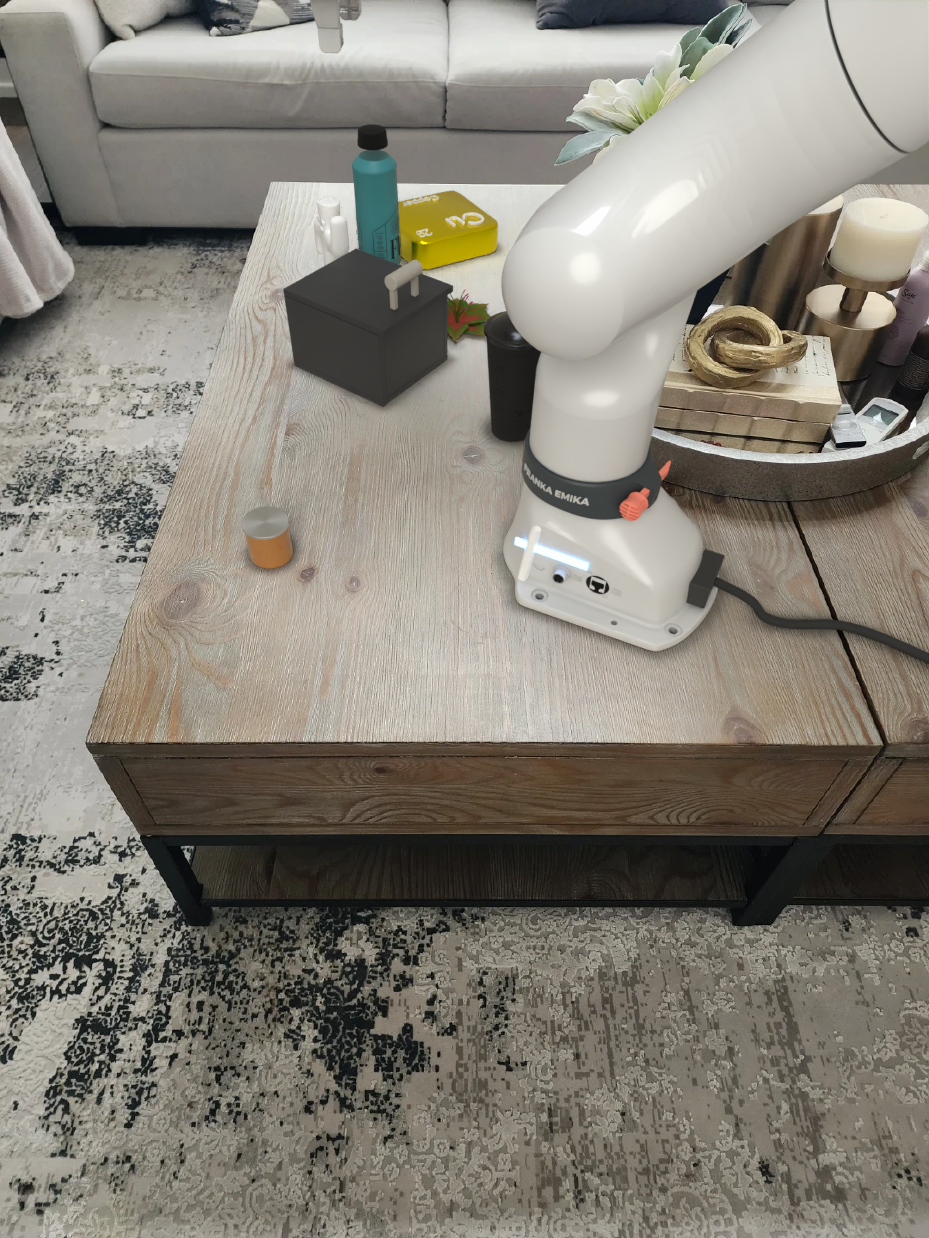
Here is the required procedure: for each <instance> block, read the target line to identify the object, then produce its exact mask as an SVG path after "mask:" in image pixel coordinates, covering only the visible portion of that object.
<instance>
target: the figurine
mask: <svg viewBox="0 0 929 1238" xmlns="http://www.w3.org/2000/svg"><path fill="white" fill-rule="evenodd" d="M316 207H317V211H316V217H315V218H314V222H313V231H314V241H315V250H316V252H317V253H318V254H319V255H322V257H323V267H324V266H325V265H327V264H329V263H331V262H333V261H334V260H336V259H338V258H340V257H341V256H343V255H345V254H347V253H349V252H350V240H349V227H348V226H349V225H348V220H347V218H346V217H345V216H344V215H341V201H340V200H339V199H338V198H336V197H332V196H324V197H322V198H317V200H316ZM307 275H308V274H306V275H302V278H304V277H306V276H307Z"/></svg>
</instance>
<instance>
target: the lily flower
mask: <svg viewBox="0 0 929 1238" xmlns="http://www.w3.org/2000/svg"><path fill="white" fill-rule="evenodd" d="M457 289H458V286H457ZM465 292H466V289H464V290H463V291H462V294H461V296H460V298H458V297H457V298H454V297H453V295H452V293H450V294H449V295H450V297H451V298H450V297H448V335H449V336H450V337H451V338H452V339H453V342H454V343H456V342H457V341H458V339H459V338H460V336H461V335H463V334H464V333H466V334H471V335H472V334H473V335H477V336H483V337H486V336H485V334H484V325H485V324H483V322H486V321H487V320H488V319H489V318H490V317H491V316H492V315H490V314H489V313H488V312H486V310H487V308H488V305H489V303H479V302H478V303H477V302H474V301H470V302H468V301H467V300H468V299H469V297H470V296H469V293H466V294H465V295H464V293H465ZM463 295H464V296H463Z"/></svg>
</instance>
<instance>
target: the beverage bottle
mask: <svg viewBox="0 0 929 1238" xmlns="http://www.w3.org/2000/svg"><path fill="white" fill-rule="evenodd" d="M387 133H388V132H387V129H386V128H385V126H383V125H380V124H373V123H371V124H365V125H362V126H360V127H359V128H358V129H357V140H356V141H357V147H358V148H360V149H361V150H362V151H361V152H359V153H358V155H356V156H355V157H354V159H353V160H352V162H351V169H352V179H353V181H352V182H353V191H354V207H355V221H354V222H355V225H356V230H355V231H356V236H357V237H356V238H357V239H356V241H357V249H358V250H361V251H364V252H366V253H369V254H372V255H374V256H377V257H379V258H382V259H385V260H387V261H390V262H392V263H395V264H398V265H401V261H402V259H403V257H402V256H401V252H402V250H401V251H400V248H401V230H400V229H399V220H400V219H399V217H400V216H399V207H398V202H399V190H398V189H399V188H398V176H397V175H398V174H397V168H398V167H397V166H398V163H397V161H396V160H395V158H394V157H393V156H392V155H391V154H389V153H388V152H387V151H386V150H384V149H386V148H387V147H388V145H389V140H388V134H387Z"/></svg>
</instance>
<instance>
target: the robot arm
mask: <svg viewBox="0 0 929 1238" xmlns="http://www.w3.org/2000/svg"><path fill="white" fill-rule="evenodd" d="M309 1H310V8H311V12H312V15H313V18H314V21H315V25H316V28H317V37H318V47H319V49H320V51H321V52H322V53H324V54H339V53H340V52H341V50H342V48H343V46H344V42H345V41H344V29H343V23H341V20H344V21H353V22H355V21H357V20H358V19H360V17H361V15H362V11H363V9H362V0H309ZM928 143H929V0H794V1H792V2H791V3H789V4H788V5H787V6H786V7H785V8H784V9H782V10H781V11H780V12H778V13H777V14H776V15H775V16H774V17H772V18H771V19H770V20H769V21H768V22H766V23H765V24H764V25H762V27H760V28H759V29H758V30H756V31H755V32H754V33H753V34H752V35H750V36H749V37H748V38H746V39H745V40H744V41H743V42H741V43H739V45H738V46H737V47H735V48H734V49H732V51H730V52H729V53H728V54H726V56H724V57H723V58H722V59H720V60H719V61H718V62H716V63H715V64H714V65H713V66H712V67H711V68H709V69H708V70H707V71H705V72H704V73H703V74H702V75H701V76H699V77H698V78H697V79H696V80H694V81H693V82H692V83H690V84H689V85H688V86H686V88H685V89H683V90H682V91H681V92H680V93H678V94H677V95H676V96H674V97H673V98H672V99H671V100H670V101H668V102H667V103H665V105H663V106H662V107H661V108H660V109H658V110H657V111H656V112H655V113H653V114H652V115H651V116H650V117H648V118H647V119H646V120H645V121H643V122H642V123H641V124H640V125H639V126H637V127H636V128H635V129H634V130H632V131H631V132H629V134H627V135H626V136H625V137H624V138H622V139H621V140H620V141H619V142H617V143H616V144H615V145H614V146H613V147H611V148H610V149H609V150H607V151H606V152H605V153H604V154H603V155H601V156H600V157H599V158H598V159H596V160H595V161H594V162H593V163H591V164H590V165H588V166H587V167H586V168H585V169H584V170H583V171H582V172H580V173H579V174H577V175H576V176H575V177H574V178H572V179H571V180H570V181H569V182H568V183H566V184H565V185H564V186H563V187H561V188H560V189H559V190H558V191H556V192H554V194H553V195H551V196H550V197H549V198H548V199H546V200H545V201H544V202H543V203H542V204H541V205H540V206H539V207H538V208H537V209H536V210H535V212H534V213H533V214H532V215H531V217H530V218H529V219H528V221H527V222H526V224H525V225H524V227H523V228H522V229H521V231H520V233H519V234H518V236H517V237H516V239H515V242H514V243H513V244H512V246H511V248H510V250H509V251H508V253H507V255H506V258H505V260H504V264H503V267H502V271H501V279H500V281H501V282H500V283H501V284H500V286H501V294H502V296H501V297H502V300H503V305H504V307H505V311H507V313H508V315H509V318H510V320H511V321H512V323H513V325H514V326H515V328H516V329H517V331H518V332H519V333H520V334H521V336H522V337H523V338H524V339H525V340H526V341H527V342H528V343H529V344H531V345H532V346H533V347H535V348H536V349H537V350H539V351H541V354H540V357H539V360H538V364H537V368H536V378H535V388H534V398H533V408H532V418H531V428H530V429H529V431H528V432H527V435H526V438H525V439H524V445H523V453H522V462H521V475H522V479H523V483H522V488H521V493H520V497H519V501H518V505H517V509H516V512H515V514H514V518H513V520H512V522H511V525H510V527H509V529H508V531H507V532H506V535H505V537H504V540H503V547H502V553H503V559H504V561H505V564H506V566H507V568H508V570H509V572H510V574H511V575H512V577H513V580H514V597H515V600H516V602H517V603H518V605H520V606H522V607H525V608H527V609H530V610H533V611H536V612H539V613H542V614H545V615H548V616H550V617H552V618H556V619H558V620H562V621H564V622H568V623H570V624H573V625H576V626H578V627H582V628H584V629H587V630H590V631H593V632H595V633H599V634H601V635H604V636H607V637H610V638H613V639H616V640H619V641H621V642H623V643H627V644H630V645H633V646H635V647H637V648H642V649H643V650H647V651H651V652H660V651H664V650H668V649H670V648H671V647H674V646H676V645H678V644H680V643H681V642H682V641H684V640H685V639H687V638H688V637H689V636H690V635H691V634H692V633H694V631H695V630H696V629H697V628H698V627H699V626H700V625H701V623H703V621H704V620H705V618H706V617H707V616H708V614H709V612H710V611H711V609H712V606H713V605H714V603H715V601H716V597H717V595H718V590H721V591H723V592H725V593H727V594H729V595H731V596H733V597H735V598H737V599H739V600H740V601H742V602H744V603H745V604H746V605H748V606H749V607H750V608H751V609H752V611H753V613H754V614H755V615H756V617H757V618H758V619H759V620H760V621H761V622H763V623H766V624H768V625H770V626H773V627H777V628H782V629H787V630H789V629H790V630H834V631H836V630H837V631H842V632H845V633H846V632H847V633H850V634H855V635H858V636H860V637H863V638H867V639H870V640H872V641H876V642H878V643H880V644H883V645H885V646H888V647H890V648H892V649H894V650H897V651H899V652H901V653H903V654H906V655H908V656H909V657H912V658H914V659H915V660H918V661H921V662H923V663H924V664H925V663H926V664H927V665H929V652H927V651H925V650H923V649H921V648H918V647H916V646H913V645H912V644H910V643H908V642H905V641H903V640H901V639H899V638H896V637H894V636H891V635H889V634H887V633H884V632H881V631H880V630H877V629H875V628H874V629H873V628H870V627H867V626H865V625H861V624H857V623H855V622H854V623H853V622H849V621H845V620H839V619H826V618H824V619H823V618H816V619H815V618H814V619H811V618H810V619H809V618H808V619H792V618H791V619H790V618H784V617H780V616H776V615H773V614H771V613H769V612H768V611H766V610H765V608H764V607H763V605H762V603H760V601H759V600H758V599H757V598H756V597H754V596H753V595H752V594H751V593H749V592H747V591H746V590H745V589H743V588H741V587H739V586H736V585H735V584H732V583H730V582H728V581H726V580H724V579H722V578H720V571H721V568H722V565H723V563H724V560H725V557H726V555H725V554H722V553H720V552H716V551H714V550H710V549H707V548H705V549H704V541H703V536H702V533H701V530H700V529H699V527H698V526H697V524H695V523H694V521H693V520H692V519H691V518H690V517H689V516H688V515H687V514H686V513H685V512H684V511H683V510H682V508H681V507H680V506H679V505H678V502H677V501H676V499H675V498H673V497H672V496H671V495H669V493H668V492H667V491H666V490H665V489H664V487H663V486H662V481H664V479H665V478H666V477H667V476H668V474H669V472H670V467H671V463H672V461H671V460H668V461H667V462H666V463H665V464H664V465H663V466H662V467H661V469H658V468H657V465H656V462H655V458H654V453H653V449H652V446H651V441H652V438H653V437H652V436H653V432H654V428H655V423H656V420H657V415H658V410H659V408H660V402H661V398H662V394H663V390H664V387H665V383H666V379H667V376H668V373H669V371H670V367H671V364H672V361H673V359H674V357H675V354H676V351H677V349H678V346H679V343H680V340H681V338H682V335H683V332H684V329H685V327H686V325H687V321H688V319H689V316H690V312H691V310H692V308H693V304H694V301H695V298H696V295H697V292H698V291H699V290H700V289H701V288H703V287H704V286H706V285H707V284H709V283H710V282H712V281H713V280H714V279H716V278H717V277H719V276H720V275H722V274H723V273H724V272H726V271H727V270H729V269H730V268H731V267H733V266H734V265H736V264H738V263H739V262H740V261H741V260H743V259H744V258H746V257H747V256H748V255H750V254H751V253H753V252H754V251H755V250H757V249H758V248H759V247H761V246H763V245H764V244H765V243H766V242H768V241H769V240H771V239H772V238H774V237H775V236H776V235H778V234H779V233H780V232H782V231H784V230H785V229H787V228H788V227H789V226H791V225H792V224H794V223H796V222H797V221H799V220H801V219H802V218H804V217H805V216H807V215H808V214H810V213H812V212H814V211H815V210H817V209H819V208H821V207H822V206H824V205H826V204H827V203H829V202H830V201H832V200H834V199H835V198H838V197H839V196H840V195H842V194H844V193H846V192H847V191H849V190H851V189H853V188H854V187H855V186H858V185H859V184H861V183H863V182H865V181H867V179H869V178H871V177H872V176H874V175H876V174H877V173H879V172H882V171H883V170H884V169H887V168H888V167H890V166H891V165H893V164H895V163H896V162H898V161H900V160H901V159H903V158H905V157H906V156H909V155H910V154H912V153H913V152H915V151H917V150H918V149H920V148H922V147H923V146H925V145H926V144H928Z"/></svg>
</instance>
